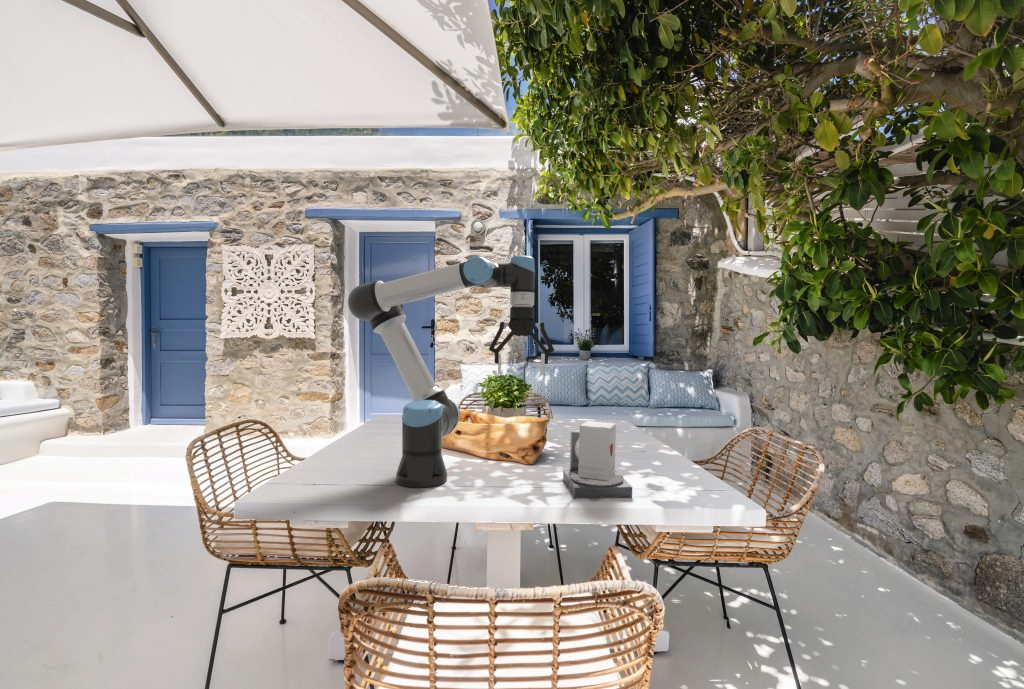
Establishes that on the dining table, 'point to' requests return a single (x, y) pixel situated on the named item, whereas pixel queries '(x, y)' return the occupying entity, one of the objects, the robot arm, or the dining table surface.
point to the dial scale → (592, 487)
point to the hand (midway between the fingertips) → (521, 374)
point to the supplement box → (597, 450)
